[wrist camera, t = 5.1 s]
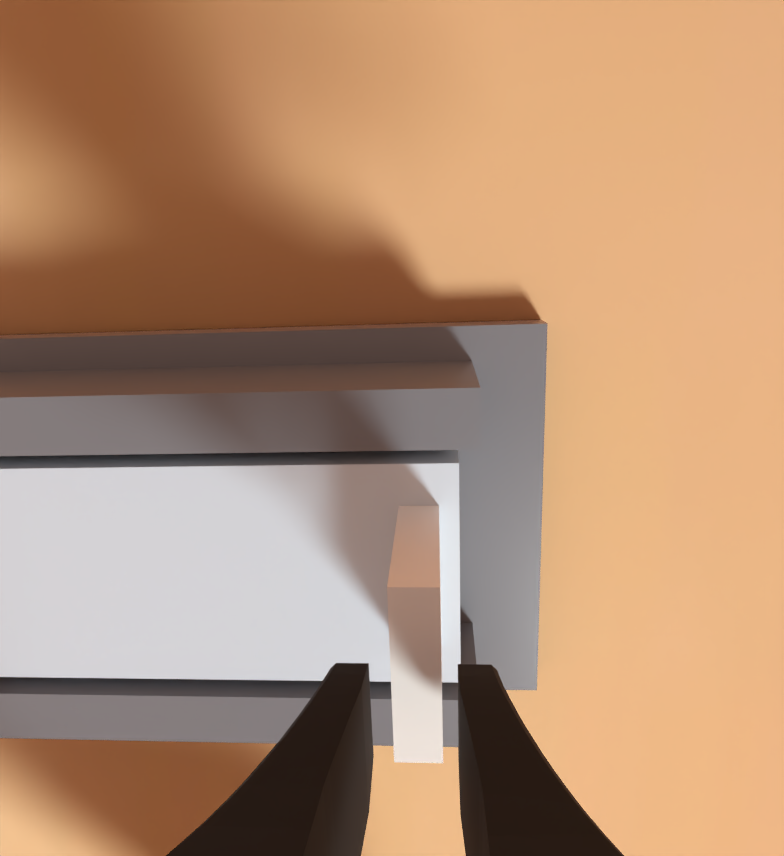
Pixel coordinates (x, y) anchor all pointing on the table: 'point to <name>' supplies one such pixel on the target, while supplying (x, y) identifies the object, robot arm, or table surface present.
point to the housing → (295, 432)
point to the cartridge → (237, 571)
